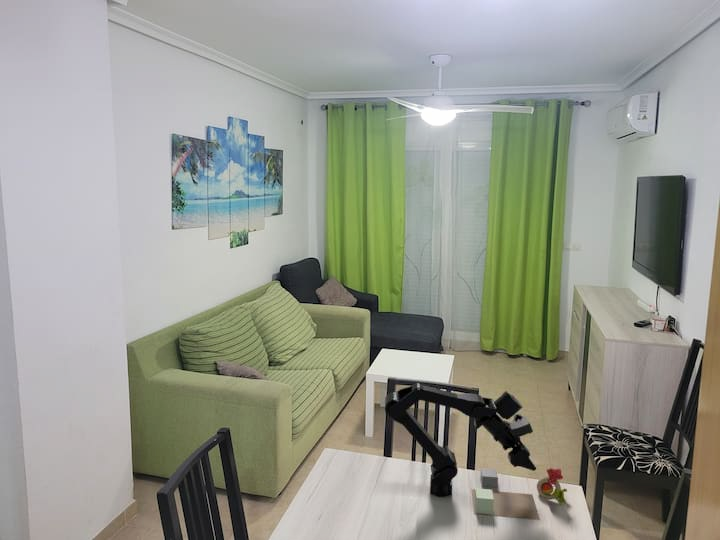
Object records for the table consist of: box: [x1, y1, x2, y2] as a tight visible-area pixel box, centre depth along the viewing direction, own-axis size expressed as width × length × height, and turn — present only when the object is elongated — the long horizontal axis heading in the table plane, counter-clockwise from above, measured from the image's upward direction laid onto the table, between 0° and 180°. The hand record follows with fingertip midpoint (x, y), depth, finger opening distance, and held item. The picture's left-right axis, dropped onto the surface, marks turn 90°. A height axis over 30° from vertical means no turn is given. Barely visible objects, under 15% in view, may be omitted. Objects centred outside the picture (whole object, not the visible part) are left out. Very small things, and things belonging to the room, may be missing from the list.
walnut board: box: [471, 488, 541, 521], centre depth 168 cm, size 19×13×2 cm
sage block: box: [475, 487, 494, 515], centre depth 165 cm, size 5×5×5 cm
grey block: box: [480, 467, 499, 488], centre depth 180 cm, size 5×5×5 cm
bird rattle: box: [536, 467, 568, 505], centre depth 172 cm, size 6×11×9 cm
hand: (531, 461), depth 171 cm, fingers open, 9 cm apart
